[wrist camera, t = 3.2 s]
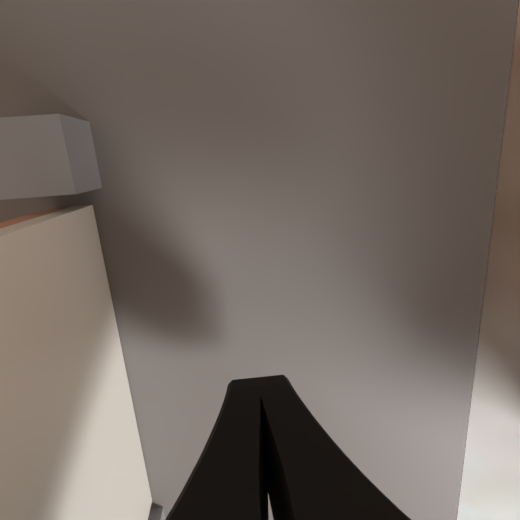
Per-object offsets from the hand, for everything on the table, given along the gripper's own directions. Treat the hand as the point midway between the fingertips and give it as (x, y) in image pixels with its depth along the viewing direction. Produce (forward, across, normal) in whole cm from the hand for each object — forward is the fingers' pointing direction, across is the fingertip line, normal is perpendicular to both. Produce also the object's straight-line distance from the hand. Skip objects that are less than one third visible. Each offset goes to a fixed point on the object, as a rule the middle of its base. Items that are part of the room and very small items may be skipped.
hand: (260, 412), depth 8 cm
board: (+3, +4, 0) cm, 5 cm away
